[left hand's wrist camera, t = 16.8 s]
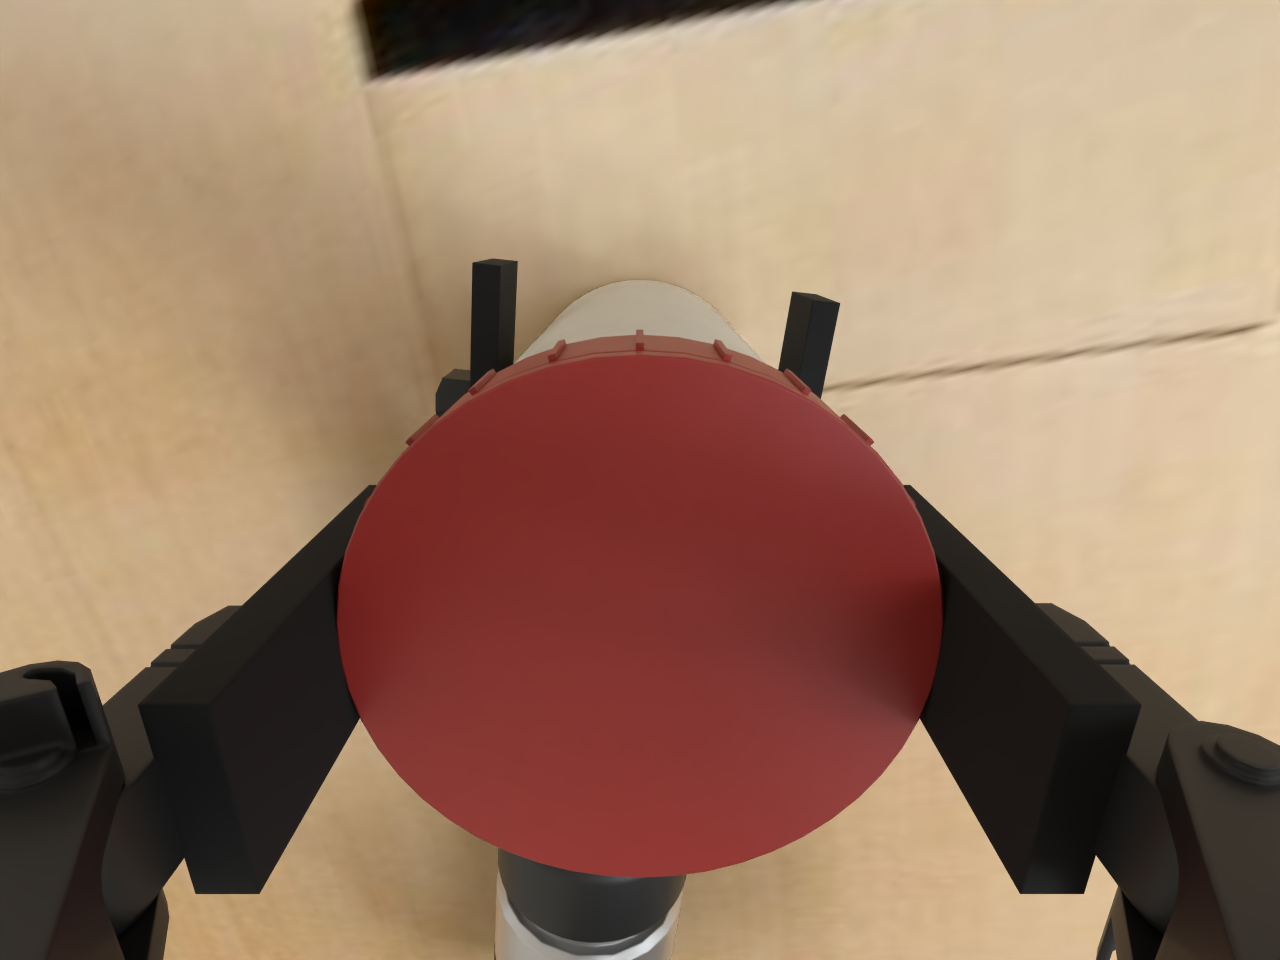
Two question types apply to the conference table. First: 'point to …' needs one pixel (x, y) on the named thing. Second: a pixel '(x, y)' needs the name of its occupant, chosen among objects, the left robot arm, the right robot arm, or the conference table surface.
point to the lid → (639, 609)
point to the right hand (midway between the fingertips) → (656, 280)
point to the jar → (639, 317)
